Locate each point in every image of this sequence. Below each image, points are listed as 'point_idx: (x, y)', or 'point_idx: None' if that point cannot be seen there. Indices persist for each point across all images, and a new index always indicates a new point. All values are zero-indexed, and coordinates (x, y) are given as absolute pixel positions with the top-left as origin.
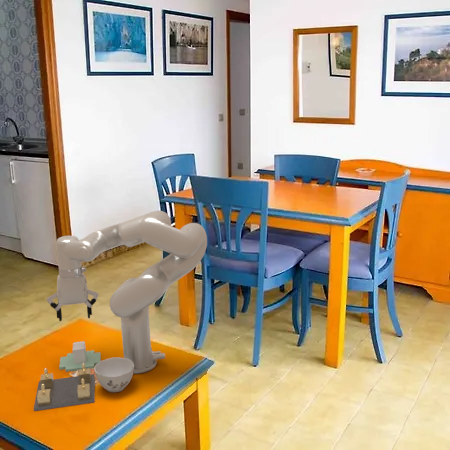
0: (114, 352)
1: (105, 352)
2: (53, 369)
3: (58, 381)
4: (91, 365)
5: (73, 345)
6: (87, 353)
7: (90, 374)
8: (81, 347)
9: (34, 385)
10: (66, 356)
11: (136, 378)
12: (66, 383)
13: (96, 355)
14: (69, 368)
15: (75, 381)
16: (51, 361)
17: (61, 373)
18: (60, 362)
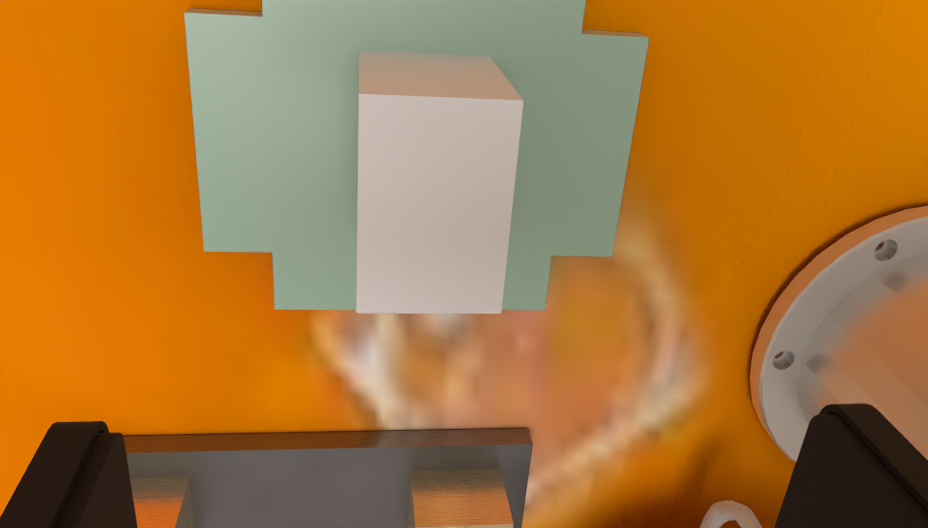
0: (786, 37)
1: (699, 2)
2: (141, 217)
3: (233, 488)
4: (523, 295)
5: (363, 188)
6: (506, 22)
7: (502, 490)
8: (467, 274)
9: (19, 445)
10: (256, 17)
11: None
12: (304, 525)
13: (597, 106)
14: (313, 297)
15: (376, 511)
16: (78, 23)
17: (238, 313)
18: (201, 149)
